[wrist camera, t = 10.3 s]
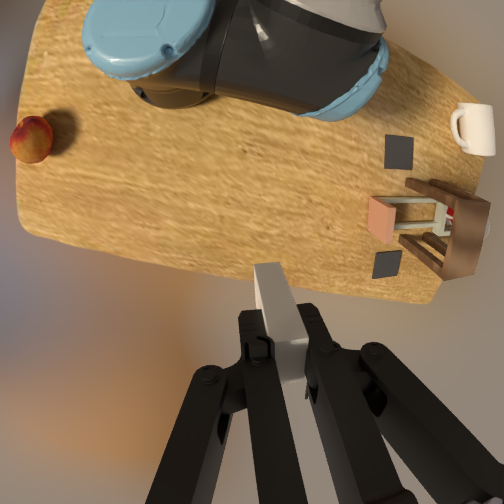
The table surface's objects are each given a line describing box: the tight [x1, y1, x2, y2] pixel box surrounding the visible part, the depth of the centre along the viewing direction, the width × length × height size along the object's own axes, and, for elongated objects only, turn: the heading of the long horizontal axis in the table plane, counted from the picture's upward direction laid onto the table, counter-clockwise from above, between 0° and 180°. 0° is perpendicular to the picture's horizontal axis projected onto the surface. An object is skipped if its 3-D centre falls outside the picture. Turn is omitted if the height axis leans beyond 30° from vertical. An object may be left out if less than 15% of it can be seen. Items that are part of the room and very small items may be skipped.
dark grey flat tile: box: [372, 250, 402, 279], centre depth 52 cm, size 6×6×1 cm
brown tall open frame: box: [398, 178, 490, 281], centre depth 41 cm, size 13×8×15 cm, turn 3°
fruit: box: [10, 116, 53, 164], centre depth 32 cm, size 8×8×8 cm
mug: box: [450, 102, 496, 156], centre depth 38 cm, size 12×10×8 cm
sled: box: [367, 191, 474, 244], centre depth 45 cm, size 9×26×7 cm, turn 93°
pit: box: [384, 135, 413, 170], centre depth 43 cm, size 6×6×1 cm
